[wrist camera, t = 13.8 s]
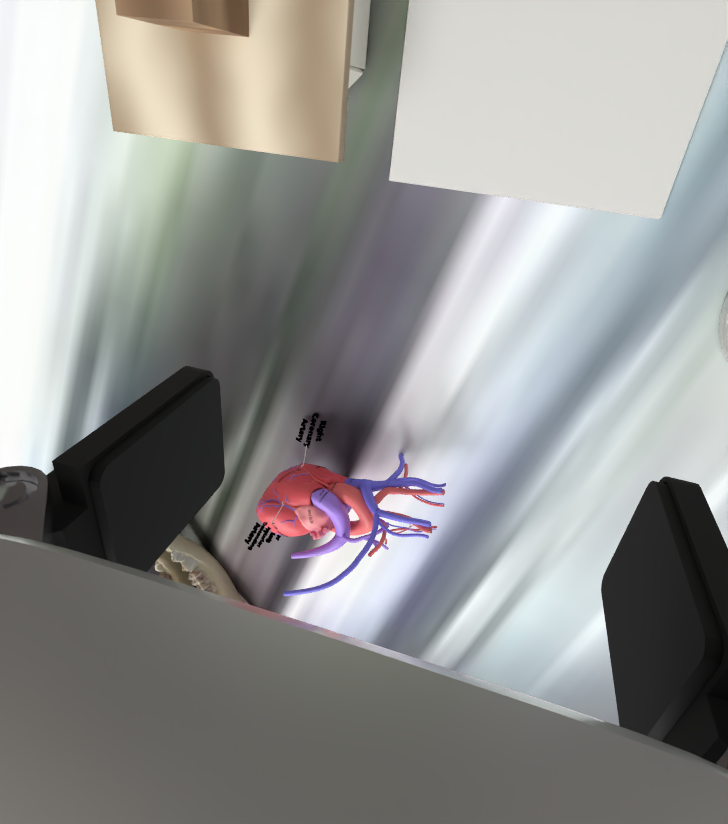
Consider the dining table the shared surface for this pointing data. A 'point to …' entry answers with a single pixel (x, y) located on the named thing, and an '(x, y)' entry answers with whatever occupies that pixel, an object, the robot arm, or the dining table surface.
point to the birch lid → (231, 72)
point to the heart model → (335, 508)
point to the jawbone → (195, 568)
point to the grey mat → (555, 97)
